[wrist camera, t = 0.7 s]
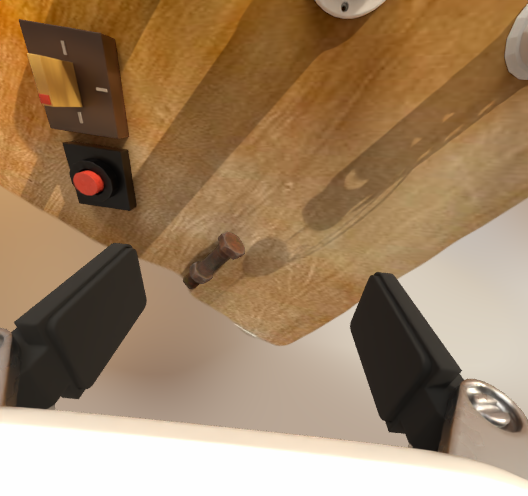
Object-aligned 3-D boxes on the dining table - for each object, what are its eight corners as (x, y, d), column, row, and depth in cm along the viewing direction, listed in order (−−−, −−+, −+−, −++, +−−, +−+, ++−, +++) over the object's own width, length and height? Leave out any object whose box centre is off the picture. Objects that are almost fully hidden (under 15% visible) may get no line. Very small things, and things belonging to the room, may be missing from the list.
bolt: (191, 270, 53) (235, 230, 46) (203, 289, 52) (249, 251, 46) (172, 277, 48) (218, 233, 41) (185, 297, 47) (234, 256, 41)
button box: (72, 140, 38) (52, 144, 35) (128, 149, 38) (113, 153, 35) (88, 199, 43) (71, 207, 40) (136, 206, 44) (124, 214, 40)
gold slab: (62, 60, 30) (24, 52, 26) (73, 62, 30) (37, 54, 26) (72, 105, 33) (40, 105, 28) (82, 107, 33) (52, 106, 28)
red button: (78, 168, 37) (70, 170, 35) (101, 171, 37) (94, 174, 35) (84, 190, 39) (76, 193, 37) (106, 193, 39) (99, 197, 37)
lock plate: (39, 26, 31) (16, 18, 28) (115, 39, 31) (99, 32, 29) (66, 126, 37) (49, 128, 34) (129, 136, 37) (117, 139, 35)
